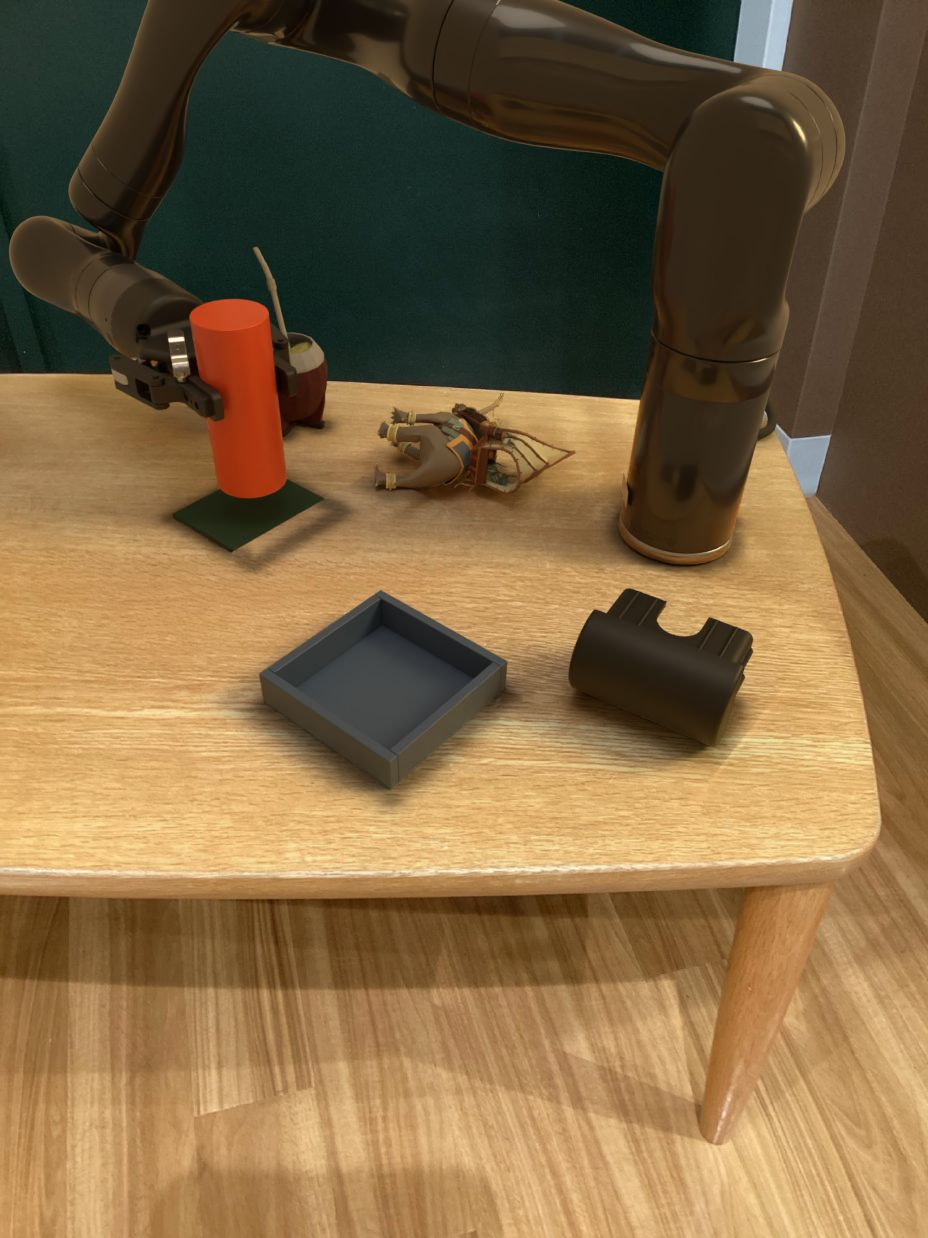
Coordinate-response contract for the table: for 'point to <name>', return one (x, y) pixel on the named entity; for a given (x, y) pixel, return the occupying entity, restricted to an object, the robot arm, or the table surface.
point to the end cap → (661, 666)
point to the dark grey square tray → (384, 686)
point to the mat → (245, 514)
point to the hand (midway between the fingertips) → (256, 396)
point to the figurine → (464, 450)
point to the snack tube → (241, 395)
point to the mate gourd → (300, 372)
